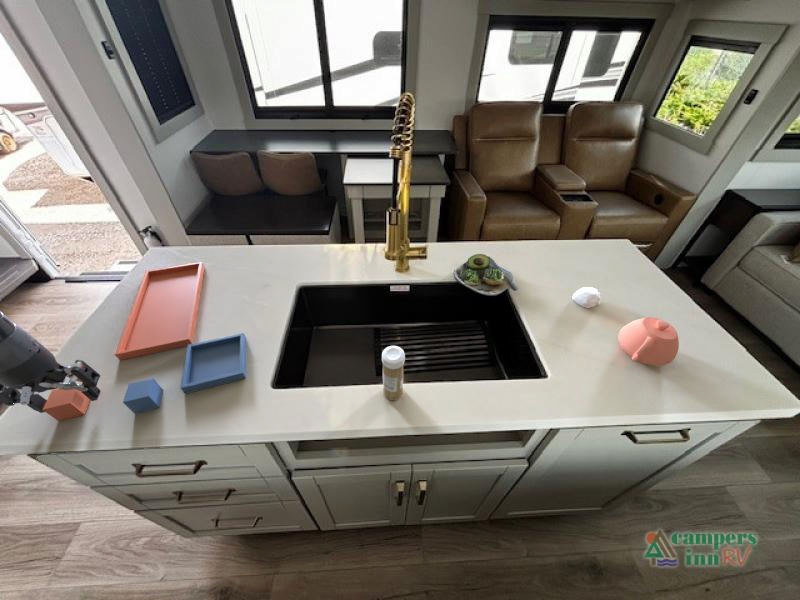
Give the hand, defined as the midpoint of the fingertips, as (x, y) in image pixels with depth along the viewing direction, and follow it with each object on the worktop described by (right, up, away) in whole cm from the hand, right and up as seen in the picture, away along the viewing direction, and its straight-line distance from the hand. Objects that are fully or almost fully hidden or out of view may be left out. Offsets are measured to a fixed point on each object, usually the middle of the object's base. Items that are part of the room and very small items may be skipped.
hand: (72, 402), depth 66 cm
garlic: (+123, +21, +30) cm, 128 cm away
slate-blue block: (+14, -1, +3) cm, 14 cm away
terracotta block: (0, -2, +1) cm, 2 cm away
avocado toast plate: (+94, +28, +37) cm, 105 cm away
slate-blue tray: (+24, +6, +10) cm, 27 cm away
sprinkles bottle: (+66, 0, +6) cm, 66 cm away
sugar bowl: (+128, +7, +16) cm, 129 cm away
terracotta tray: (+3, +19, +24) cm, 31 cm away
